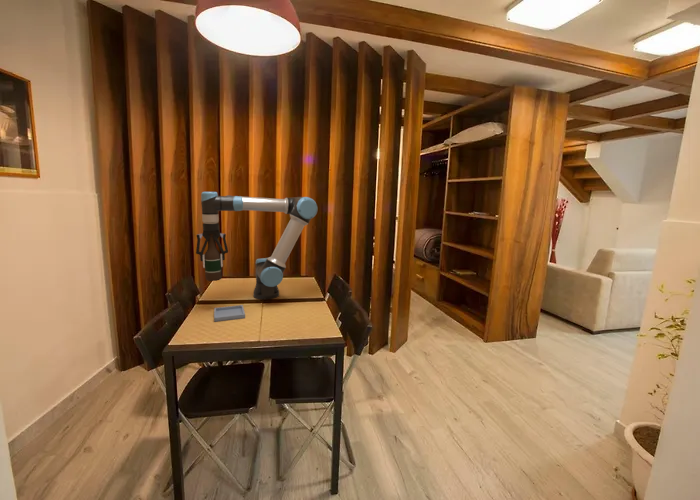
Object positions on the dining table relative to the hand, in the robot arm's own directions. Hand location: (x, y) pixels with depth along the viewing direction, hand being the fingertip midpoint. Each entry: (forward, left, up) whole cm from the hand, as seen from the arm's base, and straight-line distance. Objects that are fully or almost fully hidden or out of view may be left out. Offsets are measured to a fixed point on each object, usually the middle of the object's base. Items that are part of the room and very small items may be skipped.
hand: (213, 266), depth 161 cm
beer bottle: (0, 0, -7) cm, 7 cm away
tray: (-7, +11, -23) cm, 26 cm away
